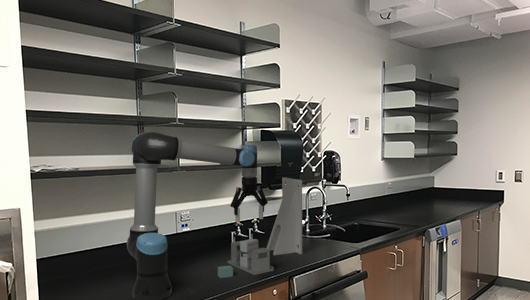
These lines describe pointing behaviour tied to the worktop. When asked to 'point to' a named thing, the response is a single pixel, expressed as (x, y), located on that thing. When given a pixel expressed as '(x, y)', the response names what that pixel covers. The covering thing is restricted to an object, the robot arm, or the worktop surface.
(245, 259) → the ink box
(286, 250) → the grey mounting bracket
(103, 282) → the worktop surface
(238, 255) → the box holder
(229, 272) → the block
